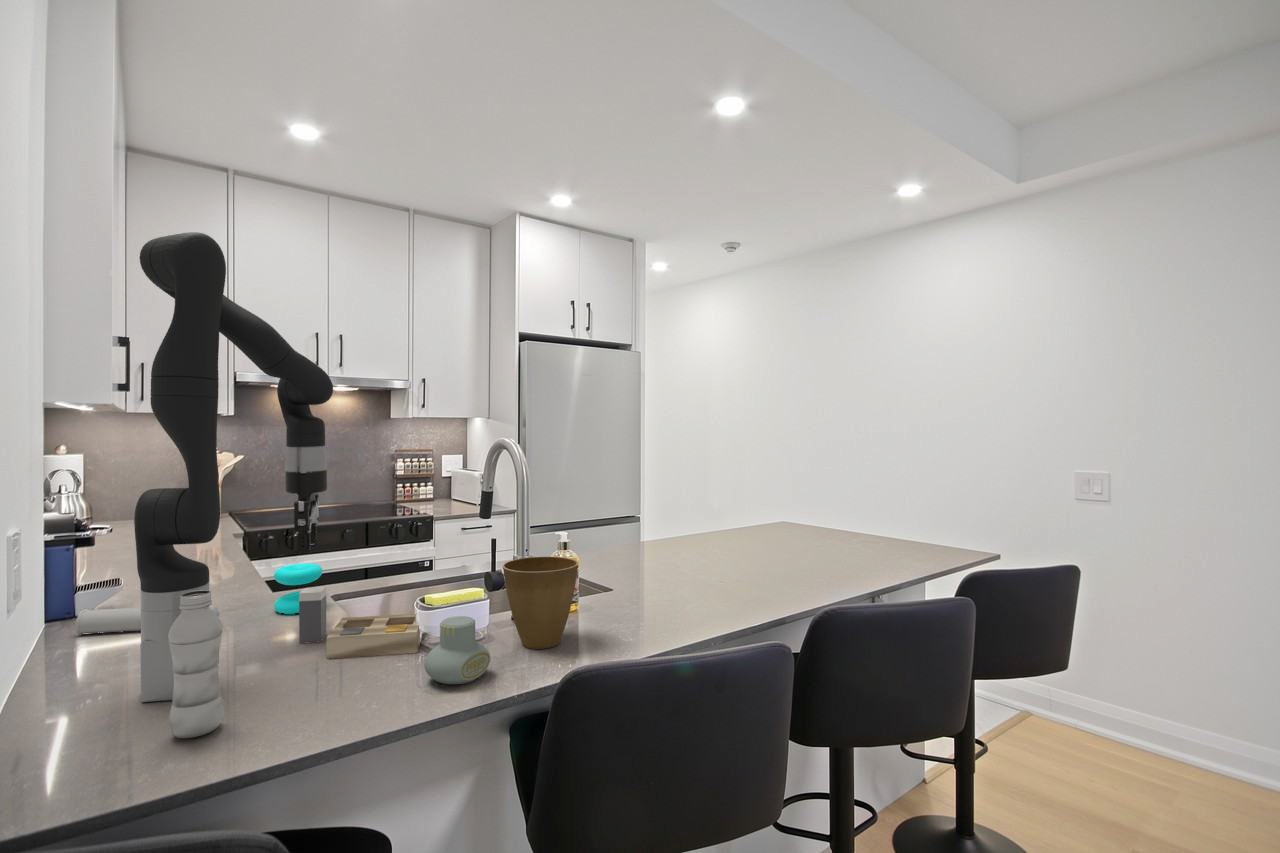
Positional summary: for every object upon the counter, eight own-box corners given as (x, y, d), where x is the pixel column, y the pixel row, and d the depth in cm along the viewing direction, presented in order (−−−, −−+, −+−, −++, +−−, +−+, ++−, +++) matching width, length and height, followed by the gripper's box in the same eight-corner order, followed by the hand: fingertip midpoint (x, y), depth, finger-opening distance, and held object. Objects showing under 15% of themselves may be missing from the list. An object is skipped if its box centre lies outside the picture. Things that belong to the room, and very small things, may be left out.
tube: (224, 603, 145) (92, 609, 139) (215, 602, 140) (77, 608, 134) (221, 628, 143) (87, 636, 137) (212, 628, 138) (72, 635, 132)
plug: (321, 642, 131) (320, 592, 131) (299, 643, 130) (299, 593, 130) (326, 635, 135) (326, 587, 135) (305, 636, 134) (305, 588, 134)
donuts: (328, 567, 152) (280, 574, 146) (328, 610, 152) (280, 618, 146) (314, 560, 160) (269, 566, 153) (315, 601, 160) (269, 608, 153)
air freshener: (452, 695, 106) (452, 633, 106) (416, 684, 110) (415, 625, 110) (497, 672, 116) (497, 616, 116) (462, 663, 120) (462, 609, 120)
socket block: (416, 652, 125) (416, 630, 125) (326, 658, 122) (326, 635, 122) (424, 632, 137) (424, 611, 137) (342, 637, 134) (342, 616, 134)
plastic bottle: (234, 721, 97) (233, 586, 96) (205, 744, 90) (204, 599, 90) (189, 722, 97) (188, 587, 96) (157, 745, 90) (155, 600, 89)
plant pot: (593, 639, 133) (593, 560, 133) (543, 662, 121) (543, 575, 120) (538, 626, 141) (538, 552, 141) (486, 646, 129) (486, 565, 129)
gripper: (292, 466, 139) (292, 542, 139) (278, 472, 125) (279, 556, 125) (331, 465, 141) (331, 540, 141) (322, 471, 127) (323, 554, 128)
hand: (307, 548), depth 133 cm, fingers open, 8 cm apart
